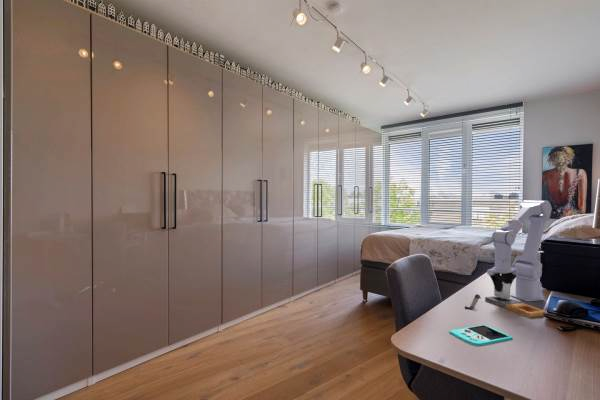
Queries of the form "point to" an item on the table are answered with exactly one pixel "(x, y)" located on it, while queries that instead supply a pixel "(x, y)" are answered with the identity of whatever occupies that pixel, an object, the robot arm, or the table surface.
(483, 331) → the handheld game console
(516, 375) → the table surface
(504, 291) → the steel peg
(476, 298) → the tactical tomahawk
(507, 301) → the rail plate
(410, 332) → the table surface
